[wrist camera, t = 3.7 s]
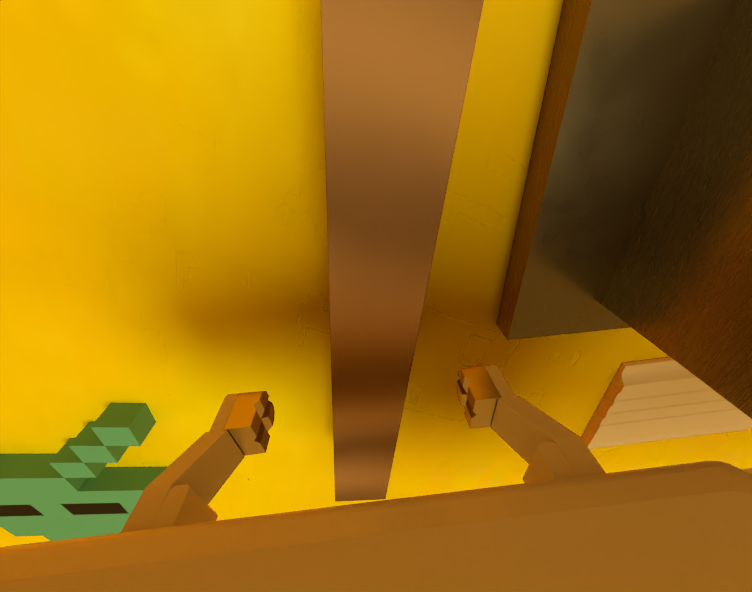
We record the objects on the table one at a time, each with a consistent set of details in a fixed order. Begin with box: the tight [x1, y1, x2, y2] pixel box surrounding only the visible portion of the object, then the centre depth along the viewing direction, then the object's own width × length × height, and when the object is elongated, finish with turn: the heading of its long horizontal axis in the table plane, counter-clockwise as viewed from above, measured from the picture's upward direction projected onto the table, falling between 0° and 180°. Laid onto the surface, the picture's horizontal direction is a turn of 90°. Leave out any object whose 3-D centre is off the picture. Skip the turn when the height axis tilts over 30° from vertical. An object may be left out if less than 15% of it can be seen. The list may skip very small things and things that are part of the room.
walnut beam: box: [321, 0, 484, 501], centre depth 14 cm, size 26×4×5 cm, turn 176°
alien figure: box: [0, 403, 167, 541], centre depth 23 cm, size 20×2×20 cm
